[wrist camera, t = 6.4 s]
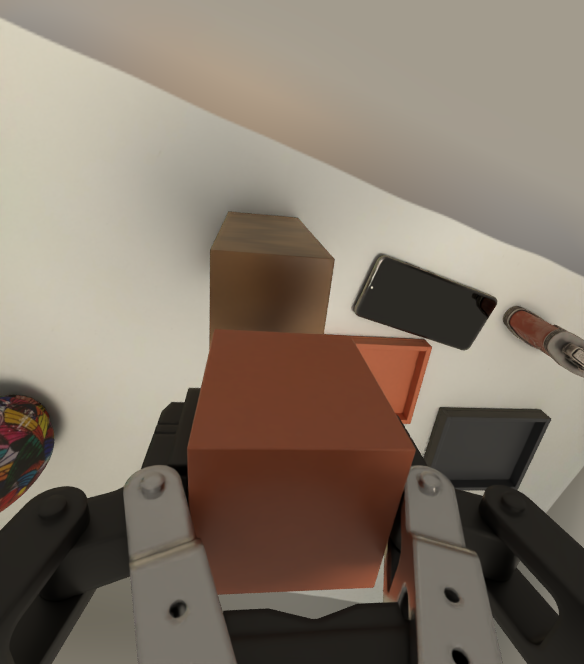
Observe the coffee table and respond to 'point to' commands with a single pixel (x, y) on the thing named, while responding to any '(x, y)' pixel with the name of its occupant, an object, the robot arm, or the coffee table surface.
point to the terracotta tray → (397, 369)
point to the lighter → (547, 338)
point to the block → (293, 463)
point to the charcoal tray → (485, 445)
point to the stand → (268, 276)
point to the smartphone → (424, 303)
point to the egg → (22, 445)
